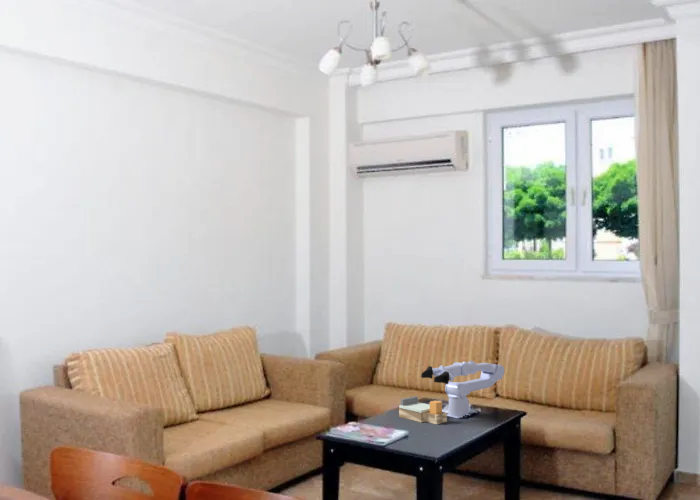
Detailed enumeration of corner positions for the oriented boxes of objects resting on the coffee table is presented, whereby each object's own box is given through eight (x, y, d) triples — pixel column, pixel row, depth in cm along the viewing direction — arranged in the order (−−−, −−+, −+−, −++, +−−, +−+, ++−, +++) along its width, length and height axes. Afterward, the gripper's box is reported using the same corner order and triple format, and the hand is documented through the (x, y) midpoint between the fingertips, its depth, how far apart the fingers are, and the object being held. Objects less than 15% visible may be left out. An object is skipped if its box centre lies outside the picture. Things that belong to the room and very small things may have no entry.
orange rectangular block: (435, 415, 335) (435, 400, 335) (442, 417, 332) (442, 401, 332) (429, 417, 332) (429, 401, 332) (436, 418, 329) (436, 403, 329)
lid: (416, 403, 349) (416, 395, 349) (439, 408, 339) (439, 400, 339) (399, 407, 341) (399, 399, 341) (421, 412, 331) (421, 404, 331)
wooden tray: (416, 412, 349) (416, 404, 349) (450, 420, 333) (450, 412, 333) (399, 416, 341) (399, 408, 341) (432, 425, 325) (432, 416, 325)
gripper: (436, 360, 344) (417, 364, 335) (460, 368, 334) (441, 373, 325) (435, 374, 345) (416, 379, 336) (459, 383, 335) (440, 388, 326)
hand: (428, 377), depth 330 cm, fingers open, 7 cm apart
